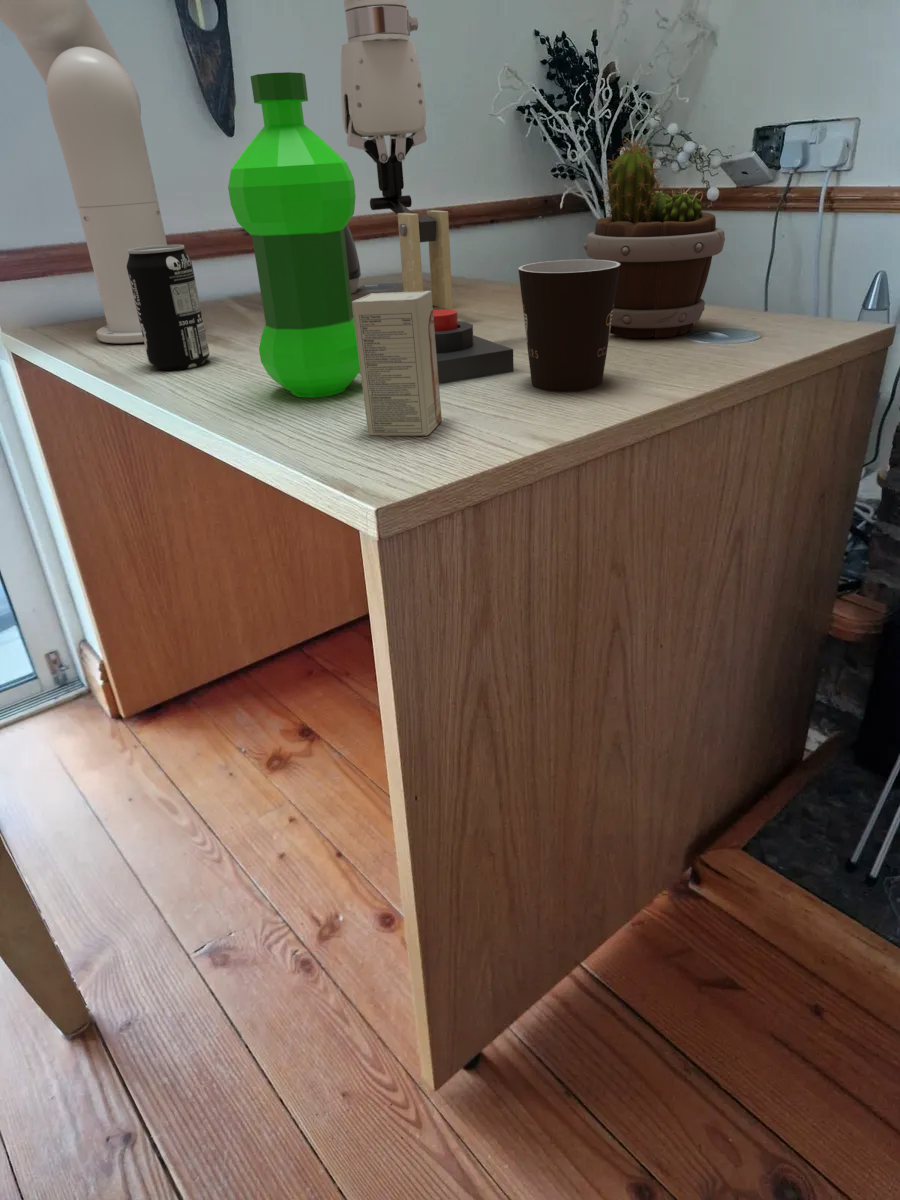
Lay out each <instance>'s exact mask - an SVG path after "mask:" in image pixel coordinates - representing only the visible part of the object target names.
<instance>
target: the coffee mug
mask: <svg viewBox="0 0 900 1200" xmlns="http://www.w3.org/2000/svg"><path fill="white" fill-rule="evenodd" d="M517 269H518V277H519V285H520V294H521V295H520V296H521V303H522V312H523V320H524V329H525V330H524V331H525V339H526V346H527V353H528V354H527V355H528V364H529V374H530V380H531V381H530V382H531V386H532V387H533V388H535V389H537V390H539V391H540V390H541V391H546V392H552V393H575V392H584V391H589V390H593V389H597V388H599V387H600V386H601V385H602V384H603V380H604V374H605V367H606V359H607V354H608V347H609V341H610V334H611V333H610V328H611V322H612V315H613V309H614V302H615V296H616V289H617V283H618V276H619V270H620V263H618V262H615V261H607V260H595V259H561V260H560V259H559V260H547V261H539V262H533V263H528V264H523V265H521V266H519V267H517Z"/></svg>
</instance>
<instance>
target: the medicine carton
mask: <svg viewBox="0 0 900 1200" xmlns="http://www.w3.org/2000/svg"><path fill="white" fill-rule="evenodd" d="M433 306H434V305H432V290H423V291H416V292H404V291H391V292H377V293H376V292H371V293H369V294H367V295H365V296H362V297H359V298H358V299H355V300H352V309H353V316H354V325H355V332H356V340H357V348H358V356H359V364H360V371H359V372H360V378H361V386H362V387H361V388H362V394H363V395H362V396H363V402H364V403H363V404H364V410H365V411H364V412H365V419H366V426H367V434H368V435H367V436H384V437H385V436H386V437H391V436H393V437H394V436H395V437H397V436H400V437H401V436H403V437H417V436H422V437H423V436H424V437H425V436H426V437H428V436H429V435H430V434H431V433H432V432H434V430H435V429H436V428H437V427H438V425H439V424H441V422H442V420H443V419H442V417H443V416H442V406H441V392H440V391H441V390H440V384H439V380H438V367H437V355H436V342H435V330H434V318H433V310H434V308H433Z"/></svg>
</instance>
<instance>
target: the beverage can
mask: <svg viewBox="0 0 900 1200" xmlns="http://www.w3.org/2000/svg"><path fill="white" fill-rule="evenodd" d="M127 252H128V253H129V259H128V262H127V271H128V275H129V279H130V284H131V288H132V292H133V296H134V301H135V305H136V309H137V314H138V318H139V322H140V326H141V331H142V335H143V339H144V342H143V343H144V346H145V351H146V355H147V359H148V360H147V361H148V363H150V364H151V365H153V366H154V368H155V369H157V370H162V371H177V370H179V371H180V370H185V369H187V370H188V369H191V368H192V369H193V368H196V367H199V366H202V365H203V364H205V363H206V362H207V359H208V358H209V356H210V348H209V344H208V339H207V334H206V328H205V324H204V318H203V313H202V308H201V302H200V298H199V293H198V287H197V283H196V278H195V273H194V268H193V267H194V266H193V263H192V259H191V258H190V256H189V255H188V254H187V253H186V251H185V245H184V244H167V245H157V246H146V247H139V248H132V249H128V250H127Z"/></svg>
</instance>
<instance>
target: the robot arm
mask: <svg viewBox="0 0 900 1200" xmlns="http://www.w3.org/2000/svg"><path fill="white" fill-rule="evenodd" d="M343 6H344V15H345V25H346V32H347V42H346V43H343V44H342V45H341V51H340V52H341V53H340V92H341V93H340V96H341V98H340V99H341V101H340V102H341V117H342V125H343V129H344V132H345V133H346V135H347V138H346V145H347V146H348V147H349V148H351V149H357V150H361V151H364V152H365V153H366V154H367V155H368V156H369V157H370V158H371V159H372V161H373V163H374V164H376V170H377V171H376V172H377V183H378V189H379V191H380V192H381V195H382V197H394V196H396V197H398V196H403V194H402V193H403V192H402V191H403V189H404V187H405V183H404V171H403V162H404V161H405V160H406V156H407V155H408V154H409V152H410V151H411V149H412V148H413V147H415V146H419V145H421V144H424V143H425V142H426V141H427V139H428V137H427V133H426V129H425V127H426V122H427V121H426V120H427V119H426V118H427V117H426V116H427V115H426V114H427V113H426V102H425V94H424V86H423V79H422V73H421V67H420V62H419V57H418V52H417V49H416V46H415V42H414V40H410V37H409V36H411V33H412V32H413V31H414V32H416V31H418V28H419V21H418V18H417V17H412V16H411V15H410V13H409V9H407V6H408V5H407V0H343ZM0 21H1V22H2V23H3V24H4V25H5V27H6V28H8V30H9V31H11V32H12V33H13V34H14V35H15V36H16V39H18V42H19V43H20V45H21V46H22V48H23V50H24V51H25V53H26V54H27V56H28V57H29V59H30V61H31V62H32V65H34V67H35V69H36V70H37V72H38V73H39V75H40V78H41V79H42V80H43V82H44V83H45V85H46V97H47V103H48V108H49V112H50V117H51V120H52V123H53V126H54V129H55V130H54V131H55V133H56V136H57V139H58V142H59V145H60V149H61V151H62V155H63V158H64V159H63V160H64V162H65V166H66V169H67V173H68V177H69V180H70V185H71V189H72V192H73V196H74V200H75V204H76V207H77V210H78V214H79V219H80V222H81V226H82V231H83V234H84V238H85V242H86V246H87V250H88V254H89V258H90V262H91V265H92V270H93V273H94V278H95V281H96V286H97V289H98V293H99V297H100V301H101V305H102V309H103V313H104V317H105V320H106V325H105V326H102V327H100V328H98V329H97V330H96V336H97V339H98V341H100V342H102V343H105V344H106V343H107V344H138V343H139V344H141V343H144V339H143V335H142V331H141V326H140V322H139V318H138V314H137V309H136V305H135V301H134V296H133V292H132V288H131V284H130V279H129V275H128V271H127V262H128V259H129V253H128V252H127V250H128V249H132V248H139V247H146V246H157V245H168V243H167V238H166V233H165V227H164V223H163V218H162V213H161V207H160V203H159V199H158V195H157V190H156V185H155V180H154V176H153V171H152V166H151V162H150V155H149V152H148V148H147V143H146V138H145V134H144V133H145V132H144V128H143V124H142V118H141V117H142V105H141V100H140V96H139V93H138V90H137V88H136V86H135V84H134V82H133V80H132V78H131V76H130V75H129V74H128V72H127V70H126V68H125V66H124V65H123V63H122V61H121V59H120V58H119V56H118V54H117V52H116V51H115V49H114V47H113V44H112V43H111V42H110V39H109V38H108V36H107V34H106V33H105V31H104V29H103V28H102V26H101V24H100V22H99V20H98V18H97V16H96V15H95V13H94V12H93V9H92V7H91V6H90V4H89V2H88V1H87V0H0ZM407 134H410V135H408V136H407ZM386 136H387V137H389V147H388V148H389V151H388V148H387V144H386V139H385V137H386ZM388 152H389V153H388Z"/></svg>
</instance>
